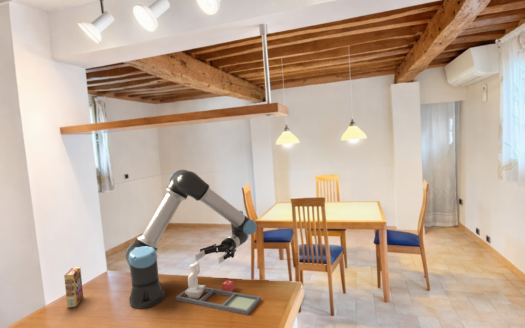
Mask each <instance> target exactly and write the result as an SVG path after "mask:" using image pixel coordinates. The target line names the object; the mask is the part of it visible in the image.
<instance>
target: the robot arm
mask: <svg viewBox="0 0 525 328" xmlns="http://www.w3.org/2000/svg"><path fill="white" fill-rule="evenodd" d="M165 190H166V193H165V196H164V197H163V199H162V200H161V203H160V204H159V206H158V207H157V209H156V211H155V212H154V214H153V215H152V217H151V219H150V221H149V223H148V224H147V226H146V228H145V230H144V231H143V233H142V234H141V235H138V236H136V239H135V240H134V241H133V242H132V243H131V244H130V245H129V246H128V248H127V249H126V252H125V253H126V254H125V259H126V262H127V264H128V267H129V270H130V279H131V290H130V296H129V299H128V300H129V306H130V307H131V308H134V309H145V308H150V307H152V306H155V305H157V304H159V303H160V302H162V301H163V300H164V299H165V297H166V296H165V290H164V288H163V286H162V284H161V282H160V279H159V277H160V276H159V267H158V254H157V251H158V249H159V244H158V243H159V241H160V239H161V238H162V236H163V234H164V232H165V230H166V229H167V227H168V225H169V223H171V220H172V218H173V217H174V215H175V213H176V212H177V210H178V208H179V207H180V205H181V203H182V202H183V201H185V200H187V198H188V197H191V198H192V199H194V200H195V201H200V202H201V203H203V204H205V205H206V207H209V208H210V209H211V210H213V211H214V212H215V213H217V214H218V215H220V216H221V217H223V218H224V219H225V220H226V221H228V222H229V223H230V228H231V234H230V235H229V236H228V237H226V238H224V239H223V240H222V241H221V242H220V244H218V245H217V244H216V243H214V244H212V245H208V246H206V247H202V248H200V249H199V252H198V253H197V254H195V261H199V260H201V259H202V258H204V257H205V256H206V255H209V254H218V253H223V254H222V255H221V254H220V256H219V257H218V258H217V259H218V264H221V263H223V262H224V261H225V260H227V259H228V258H229V259H230V258H232V259H233V258H234V257H235V252H236V251H237V248H238V247H240V246H242V245H243V244H245V243H246V242H247V241H248V239H249V235H254V234H255V233H256V231H257V229H258V226H257V222H256V221H254V220H253V219H250V217H248V216H246V215H245V214H244V212H243V210H239V209H237V208H236V207H235V206H233V205H232V204H231V203H229V202H228V201H227V200H225V199H224V198H223V197H222V196H220V195H219V194H218V193H216V191H214V190H212V189H211V188H210V184H208V183H207V182H206V181H205V180H203V179H202V178H201V177H200V176H199V175H198V174H197V173H195V172H194V171H192V170H191V171H190V170H187V169H179V170H176V171H174V172H173V173H171V176H170V177H169V183H168V184H167V186H166V188H165Z"/></svg>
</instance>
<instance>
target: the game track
mask: <svg viewBox="0 0 525 328" xmlns="http://www.w3.org/2000/svg"><path fill="white" fill-rule="evenodd" d="M187 289H188V288H186V289H185V290H184V291H182V292H181V293H179V294H177V296H175V300H176V301H177V302H183V303H188V304H193V305H197V306H202V307H208V308H212V309H217V310H222V311H227V312H232V313H236V314H240V315H246V316H249V315H250V313H251V312H252V311H253V310H254V309H255V308H256V306H257V305H258V304H259V303H260V302H261V301H262V298H261V296H257V295H252V294H245V293H242V292H241V293H239V292H234V291H232V292H230V291H224V290H222V289H217V288H211V287H207V286H205V288H204V291H203V292H206V294H205V295H203V296H202V297H201V298H199V299H196V298H189V297H185V296H186V295H187V294H186V293H185V291H186V290H187ZM213 294H217V295H224V296H229V298H227V299H226V300H225V301H224V302H223V303H222V304H220V303H215V302H209V301H207V300H208V299H209V298H210V297H211V296H212V295H213Z"/></svg>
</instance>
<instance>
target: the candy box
mask: <svg viewBox="0 0 525 328" xmlns="http://www.w3.org/2000/svg"><path fill="white" fill-rule="evenodd" d="M63 278H64V285H65V286H64V287H65V297H66V298H65V299H66V308H68V309H69V308H75V307H77V306H78V305H79V303H80V302H81V301H82V299H83V298H84V292H83V281H82V271H81V267H80V266H77V267H72V268H70V269H69V270H68V271H67V273H65V274H64V277H63Z"/></svg>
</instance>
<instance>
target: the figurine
mask: <svg viewBox="0 0 525 328" xmlns="http://www.w3.org/2000/svg"><path fill="white" fill-rule="evenodd" d="M189 270H190V274H189V275H188V277H187V286H188V287H187V288H186V289H187V290H186V289H185V290H186V291H185V290H184V291H185V293H186V295H187V298H190V299H195V300H199V299H200V297H201V296H202V295H203V292H205V291H204V288H205V287H206V284H199V282H198V275H199V274H201V273H200V272H201V267H200V262H198V261H196V262H194V263H191V264H190V265H189Z"/></svg>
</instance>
